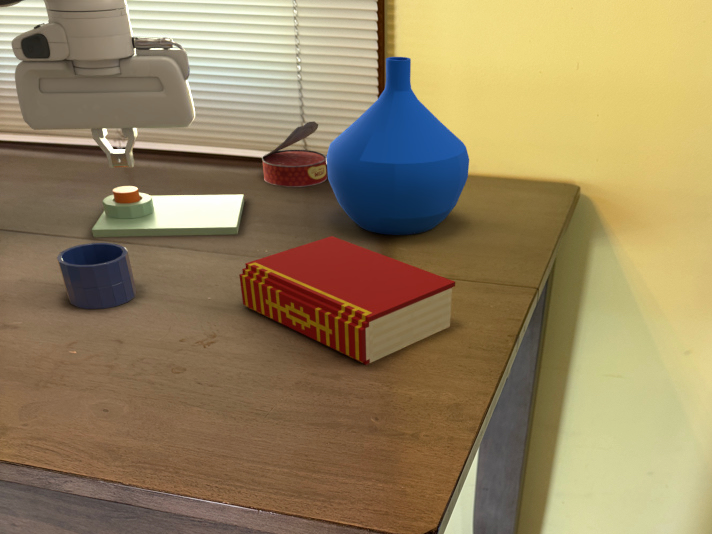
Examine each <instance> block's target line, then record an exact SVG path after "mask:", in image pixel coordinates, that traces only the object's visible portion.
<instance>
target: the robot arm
mask: <svg viewBox="0 0 712 534" xmlns="http://www.w3.org/2000/svg"><path fill="white" fill-rule="evenodd" d="M23 1H25V0H0V8H7V7H13V6H15V5H17V4H19V3H22V2H23ZM43 3H44V6H45V9H46V14H47V17H48V21H47V22H48V23H44V22H43V23H39V24H37V25H35V26H33V28H32V29H29V30H27V31H25V32H22V33H20V34H19V35H17V36H16V37H14V38H13V39H12V40H11V45H10V46H11V48H12V52H13V55H14V57H15V58H16V59H17V60H18V61H20V62H18V64H17V65H16V67H15V70H14V83H15V89H16V95H17V100H18V104H19V109H20V113H21V116H22V119H23V121H24V123H26V125H28V126H29V128H31V129H32V130H35V131H40V130H41V131H42V130H43V131H44V130H45V131H46V130H48V131H49V130H50V131H51V130H52V131H53V130H90V131H91V135H92V139H93V141H94V142H95V143H96V145H98V147H99V148H100V149H101V151H103V153H104V154H105V156H106V158H107V164H108V167H109V169H110V168H111V169H112V168H134V166H135V158H134V154H133V153H134V152H133V149H134V146H135V144H136V142H137V141H136V140H137V137H138V129H171V128H172V129H173V128H174V129H175V128H177V129H178V128H189V126H191V124H192V123H193V122H194V120H195V118H196V111H195V105H194V99H193V96H192V92H191V91H192V90H191V88H190V84H189V81H188V79H189V77H190V73H191V69H190V62H189V56H188V53H187V51H186V49H185V48H184V47H183V45H181V44H180V43H179V42H176V41H173V38H170V37H160V38H154V37H153V38H152V37H134V33H133V29H132V23H131V19H130V13H129V7H128V4H127V0H43ZM174 47H176V48H174ZM108 129H109V130H113V129H115V130H117V129H121V133H122V137H123V138H124V139H127V142H126V144H125V149H114V148H113V146H112V145H111V143H110V142H109V141H108V139H107V138H106V136H107V135H108Z"/></svg>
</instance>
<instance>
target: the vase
mask: <svg viewBox="0 0 712 534" xmlns="http://www.w3.org/2000/svg"><path fill="white" fill-rule="evenodd" d="M411 60H412V59H411V58H410V57H406V56H389V57H386V58H385V84H384V85H385V86H384V90H383V91H382V92H381V93H380V95H379V97H378V98H377V100H375V102H373V103H372V104H371V105H370V106H369V107H368V108H367V109H366V110H365V111H364V112H363V113H361V115H360V116H359V117H358V118H357V119H356V120H355V121H353V122H352V123H351V124H350V125H349V126H348V127H347V128H345V129H344V130H343V131H342V132H341V133H340V134H338V136H336V137H335V138H334V139H333V140H332V141H331V142H330V144H329V145H328V150H327V153H326V155H325V156H326V169H327V180H328V182H329V185H330V187H331V189H332V192H333V194H334V196H335V199H336V201H337V203H338V205H339V206H340V208H341V209H342V210H343V211H344V212H345V214H346V215H347V216H348V217H349V219H351V221H352V222H354V223H355V224H356V225H357V226H359V227H360V228H361V229H363V230H365V231H368V232H371V233H375V234H381V235H389V236H408V235H416V234H421V233H425V232H428V231H431V230H433V229H434V228H435V227H437V226H438V225H440V223H442V222H444V221H445V220H446V218H447V217H449V215H450V214H451V212H452V211H453V210H454V208H455V207H456V206H457V205H458V201H459V200H460V197H461V195H462V192H463V190H464V188H465V186H466V184H467V180H468V178H469V168H470V156H469V153H468V149H467V146H466V144H465V143H464V142H463V141H462V140H461V139H460V138H459V137H458V136H456V135H455V134H454V132H452V131H451V130H450V129H449V128H448V127H447V126H446V125H445V124H444V123H442V121H441V120H439V119H438V117H437V116H436V115H434V114H433V113H432V112H431V111H430V109H428V108H427V107H426V106H425V104H423V103H422V102H421V101H420V99H419V98H418V97H417V95H416V93H415V92H414V91H413V89H412V84H411V83H412V82H411V72H412V71H411V67H412V66H411V65H412V64H411V62H412V61H411Z"/></svg>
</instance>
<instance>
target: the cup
mask: <svg viewBox="0 0 712 534" xmlns="http://www.w3.org/2000/svg"><path fill="white" fill-rule="evenodd" d="M56 261H57V263H58V267H59V271H60V274H61V278H62V281H63V284H64V288H65V293H66V295H67V299H68V302H69V303H70V304H71V305H72V306H75V307H77V308H79V309H84V310H104V309H110V308H115V307H119V306H121V305H125V304H127V303H129V302H131V301H132V300H133V299H134V298H136V295H137V288H136V283H135V278H134V274H133V270H132V264H131V260H130V255H129V251H128V249H127V248H126V247H125V246H123V245H121V244H118V243H111V242H90V243H83V244H82V243H81V244H78V245H74V246H71V247H68V248H66V249H64V250H62V251H60V252H59V254H58V255H57V256H56Z"/></svg>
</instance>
